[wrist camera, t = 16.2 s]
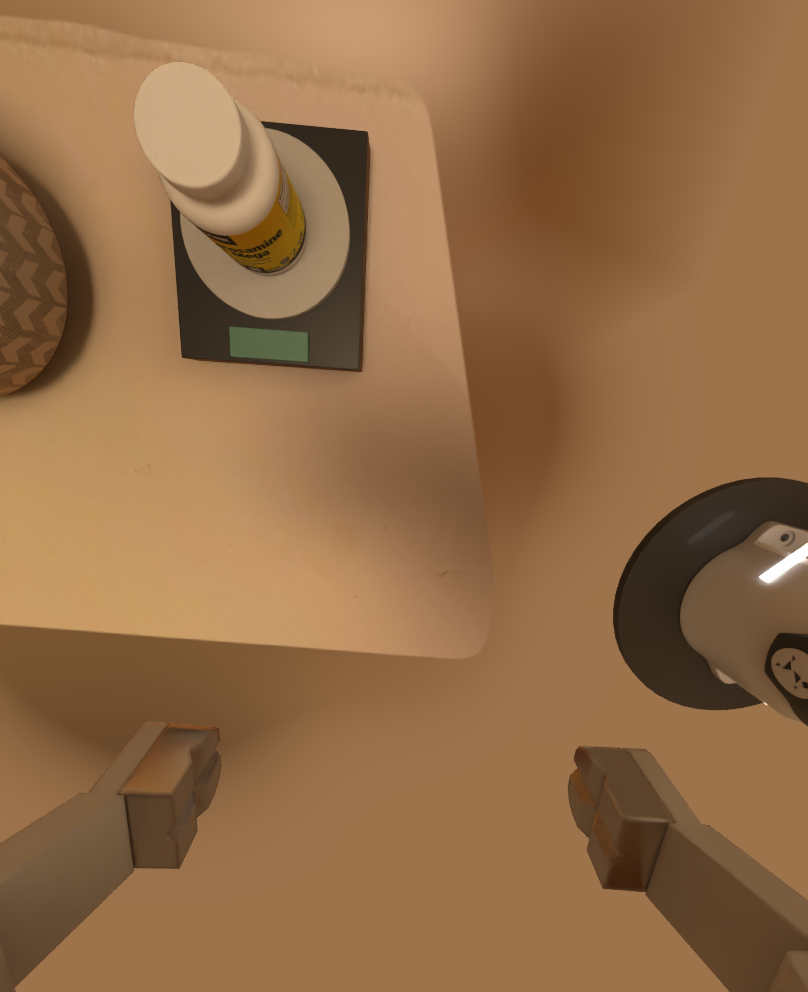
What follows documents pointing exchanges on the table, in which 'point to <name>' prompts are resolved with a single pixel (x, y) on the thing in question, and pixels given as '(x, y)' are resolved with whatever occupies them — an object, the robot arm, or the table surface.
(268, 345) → the scale
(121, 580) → the table surface
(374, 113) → the table surface
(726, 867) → the robot arm
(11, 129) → the table surface
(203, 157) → the pill bottle
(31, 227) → the planter
